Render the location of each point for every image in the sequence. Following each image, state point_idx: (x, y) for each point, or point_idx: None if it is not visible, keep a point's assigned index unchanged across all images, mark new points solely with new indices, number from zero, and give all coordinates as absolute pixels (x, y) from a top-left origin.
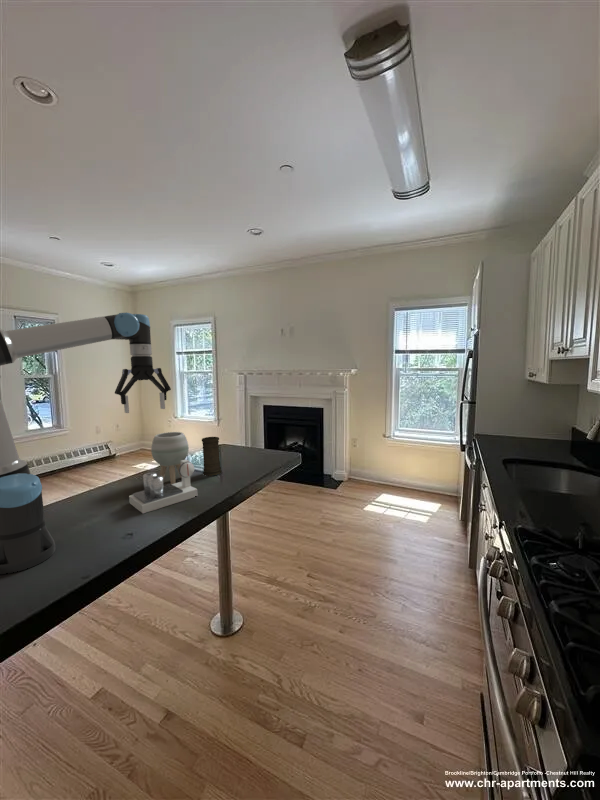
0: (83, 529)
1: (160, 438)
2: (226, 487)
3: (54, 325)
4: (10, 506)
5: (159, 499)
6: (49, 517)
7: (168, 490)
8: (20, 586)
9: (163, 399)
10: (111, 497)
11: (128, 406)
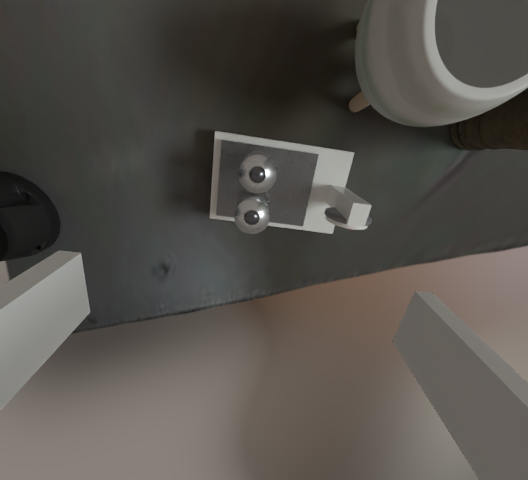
0: (107, 185)
1: (417, 44)
2: (395, 238)
3: None
4: None
5: None
6: (46, 37)
7: (284, 199)
8: None
9: (462, 438)
10: (202, 34)
11: (40, 362)
